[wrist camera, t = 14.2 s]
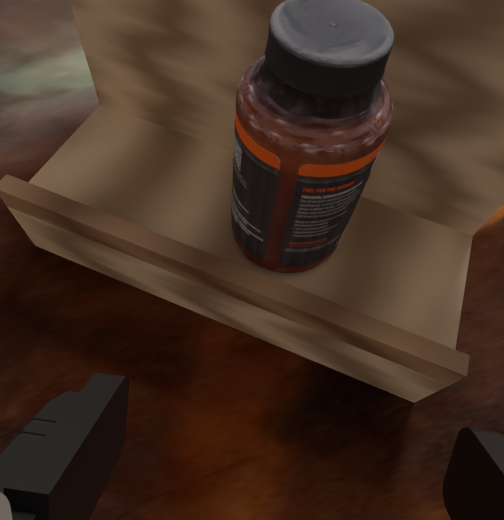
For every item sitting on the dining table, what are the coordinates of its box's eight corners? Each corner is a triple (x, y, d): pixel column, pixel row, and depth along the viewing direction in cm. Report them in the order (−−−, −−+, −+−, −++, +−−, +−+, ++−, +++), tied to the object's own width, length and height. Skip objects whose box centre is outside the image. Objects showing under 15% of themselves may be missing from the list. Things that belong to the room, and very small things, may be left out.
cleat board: (444, 245, 28) (667, -6, 14) (414, 402, 22) (727, 245, 9) (128, 132, 31) (55, -164, 17) (35, 245, 26) (-179, -53, 12)
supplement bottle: (360, 233, 23) (466, 34, 13) (287, 300, 21) (351, 118, 11) (281, 171, 25) (323, -43, 15) (206, 226, 22) (198, 14, 13)
